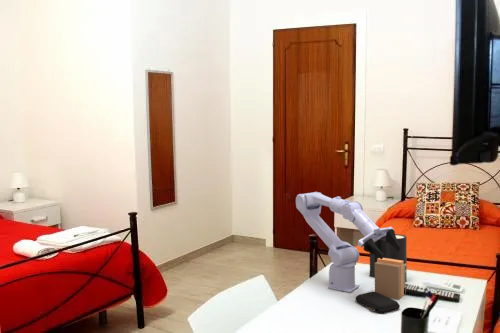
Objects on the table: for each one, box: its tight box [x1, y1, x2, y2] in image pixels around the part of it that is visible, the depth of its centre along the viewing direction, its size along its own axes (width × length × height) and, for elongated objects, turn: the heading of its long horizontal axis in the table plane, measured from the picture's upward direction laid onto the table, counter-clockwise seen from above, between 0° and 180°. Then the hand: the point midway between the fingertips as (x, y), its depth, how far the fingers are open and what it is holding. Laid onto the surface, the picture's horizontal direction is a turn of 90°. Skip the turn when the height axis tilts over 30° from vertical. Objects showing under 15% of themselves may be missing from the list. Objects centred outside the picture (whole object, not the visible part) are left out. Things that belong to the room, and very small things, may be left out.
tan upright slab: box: [374, 258, 406, 300], centre depth 190 cm, size 8×9×13 cm
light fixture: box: [369, 233, 408, 283], centre depth 207 cm, size 10×14×18 cm
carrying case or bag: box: [354, 291, 401, 314], centre depth 179 cm, size 11×3×15 cm
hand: (391, 253), depth 177 cm, fingers open, 7 cm apart
